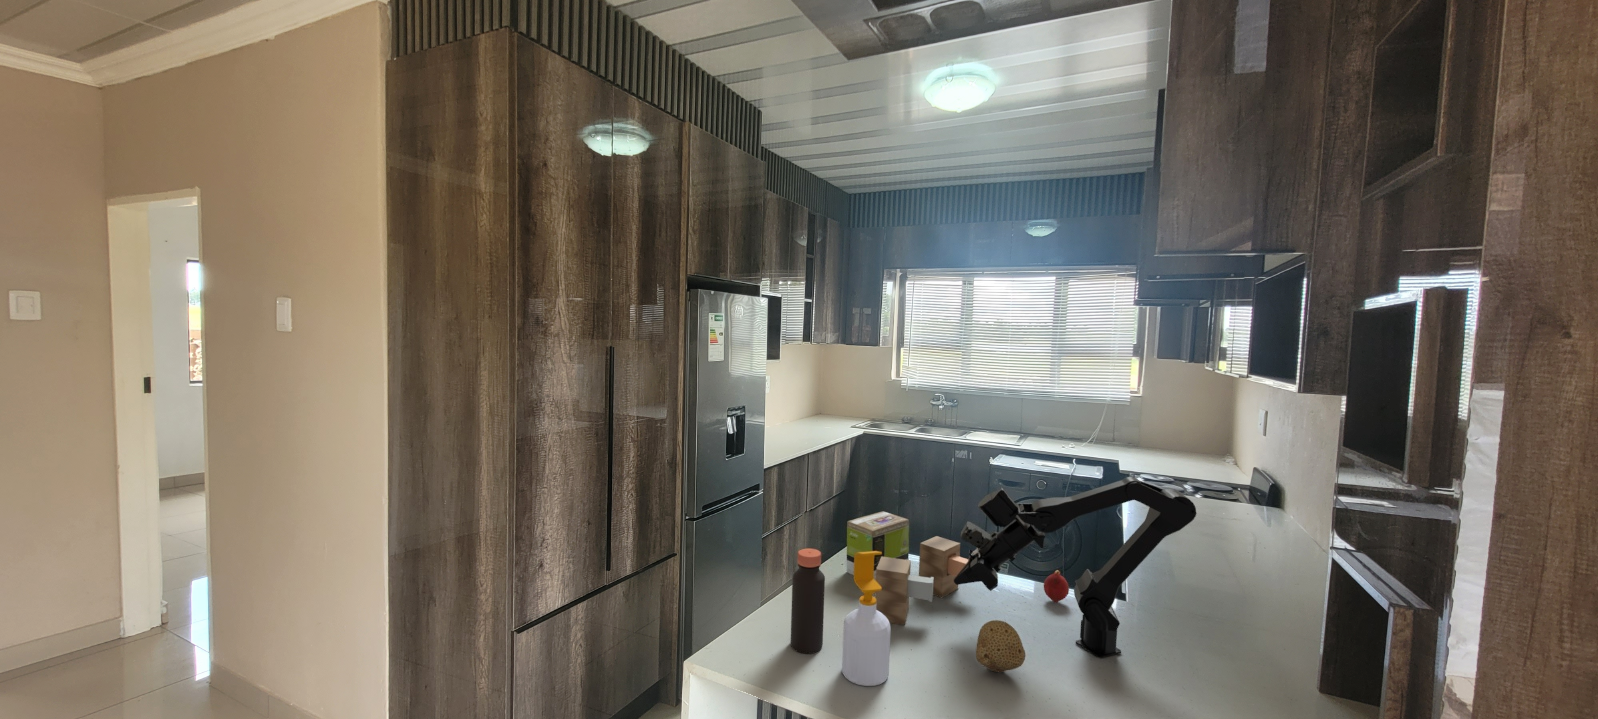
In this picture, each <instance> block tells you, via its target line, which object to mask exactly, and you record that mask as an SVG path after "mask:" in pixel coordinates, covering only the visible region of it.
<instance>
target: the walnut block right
mask: <svg viewBox="0 0 1598 719" xmlns="http://www.w3.org/2000/svg"><path fill="white" fill-rule="evenodd" d="M952 554H953V555H956V556H959V557H961V542H957V541H954V540H952V539H951V540H950V539H948V538H945V537H940V536H938V535H936V536H934V537H930V538H929V539H927V540H925V541H922V542H920V543H919V561H918V562H919V563H918V576H921V577H928V578H931V577H934V582H933V596H936V597H940V598H941V597H942V598H944V597H946V596H947V595H949V594H952V592H955V591H956V590H957V589H958V590H959V585H956V584H955V583H954V579H955V577H956V576H954V575H951V574H948V573H947V565H948V556H950V555H952Z"/></svg>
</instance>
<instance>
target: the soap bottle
mask: <svg viewBox="0 0 1598 719" xmlns="http://www.w3.org/2000/svg"><path fill="white" fill-rule="evenodd" d="M880 554H882V552H878V551H870V552H857V553H855V556H854V575H853V581H854V583H855V585H856V586H857V587H858V588H859V590H860V591H861V593H862V594H863V595H862V596H860V597H859V601H858V608H856V609H854V610H852V611H851V612H849V613H848V614H847V615H846V616H845V618H844V620H843V633H842V635H843V637H842V639H843V640H842V662H841V666H842V667H841V673H842V675H843V676H844V677H845V679H847V680H848V681H849V682H850V683H853V684H856V685H858V686H864V687H874V686H879V685H881V684H883V683H885V682H886V681H887V679H888V678H889V674H890V654H891V653H890V652H891V631H892V630H891V623H889V620H888V619H887V618H886V617H885V616H884V615H883V614H882V613H881V612H879V611H878V610H876V598H875V596H873V594H875V591H881V590H882V587H881V586H880V585H879V584H878V583H877V582H876V581H875V579H874V556H875V555H880Z"/></svg>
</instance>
